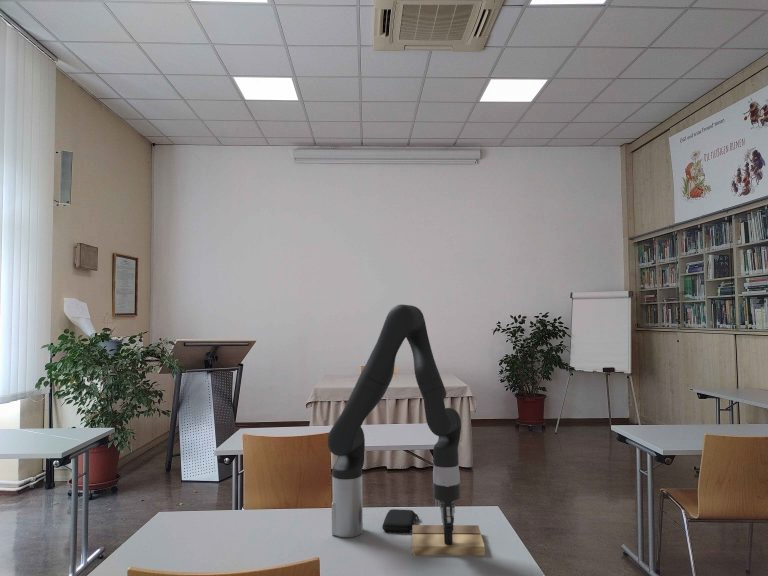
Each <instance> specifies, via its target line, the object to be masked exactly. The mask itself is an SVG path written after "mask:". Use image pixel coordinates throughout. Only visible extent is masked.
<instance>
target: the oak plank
mask: <svg viewBox="0 0 768 576" xmlns="http://www.w3.org/2000/svg"><path fill="white" fill-rule="evenodd" d="M411 535H412V538H411V539H412V543H411V550H412V556H486V552H485V551H486V549H485V543H484V540H483V539H484V538H483V536H482V534H481V535H470V534H452V542H453V543H452V544H451V545H446V544H445V542H444V534H411ZM413 554H415V555H413Z"/></svg>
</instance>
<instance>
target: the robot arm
mask: <svg viewBox="0 0 768 576" xmlns="http://www.w3.org/2000/svg"><path fill="white" fill-rule="evenodd" d="M405 339H407V341H408V344H409V347H410V349H411V352H412V358H413V369H414V375H415V379H416V383H417V386H418V389H419V391H420V394H421V397H422V400H423V407H424V414H425V415H424V416H425V420H426V424H427V426H428V428H429V430H430V432H431V433H433V435H435V436H437V437H438V440H437V442H436V443H435V444H434V446H433V451H432V452H433V453H432V454H433V460H432V461H433V471H432V481H433V482H432V483H433V484H432V485H433V498H434V499H435V500H437V501H439V508H440V515H441V523H442V525H443V530H444V542H445V544H446V545H451V544H452V543H453V542H452V531H453V525H454V523H455V513H456V509H455V507H456V506H455V502H454V501H458V500H459V499H460V498H461V477H460V476H461V474H460V467H459V451H458V449H459V444H460V438H461V432H462V420H461V416H460V414H459V413H458V411H457V410H456V409H455V408H452V407H446V404H445V399H446V397H447V391H446V387H445V385H444V382H443V379H442V378H441V374H440V372H439V369H438V366H437V364H436V360H435V357H434V354H433V351H432V348H431V347H432V346H431V343H430V338H429V335H428V329H427V325H426V320H425V317H424V314H423V312H422V310H421V309H420V308H419V307H417V306H414V305H411V304H397V305H395V306H393V307H392V308H391V309H390V310H389V311H388V313H387V315H386V317H385V320H384V323H383V326H382V328H381V331H380V334H379V336H378V339H377V340H376V343H375V345H374V347H373V349H372V351H371V353H370V355H369V357H368V359H367V362H366V364H365V365H364V366H363V369H362V370H361V373H360V375H359V377H358V379H357V381H356V383H355V386H354V387H353V389H352V392H351V394H350V395H349V398H348V400H347V402H346V404H345V406H344V408H343V410H342V411H341V413H340V414H339V416H338V417H337V419H336V421H335V423H334V424H333V425H332V427H331V429H330V431H329V433H328V436H327V447H328V449H329V451H330V452H331V453H332V454H333V455H334V456H336V457H337V458H336V461H335V463H334V464H333V466H332V469H331V470H332V473H331V474H332V475H331V476H332V502H331V535H332V536H336V537H340V538H352V537H357V536H359V535H361V534H362V533H363V531H364V530H363V529H364V521H363V516H364V514H363V509H364V508H363V506H364V505H363V467H364V465H365V450H366V449H365V446H366V445H365V444H366V443H365V441H366V440H365V439H366V438H365V433H364V430H363V428H362V425H363V423H364V421H365V420H366V418H367V417H368V416H369V415H370V414H371V412H372V411H373V410H374V409H375V408H376V407H377V406H378V404H379V402H380V401H382V399H383V397H384V396H385V394H386V392H387V390H388V389H389V386H390V384H391V382H392V379H393V377H394V376H393V375H394V374H395V373H394V372H395V363H396V358H397V354H398V352H399V350H400V348H401V347H402V344H403V342H404V341H405ZM441 501H442V502H441Z"/></svg>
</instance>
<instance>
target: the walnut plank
mask: <svg viewBox="0 0 768 576" xmlns="http://www.w3.org/2000/svg"><path fill="white" fill-rule="evenodd" d="M411 533H412V534H444V530H443V524H442V525H441V524H438V525H437V524H436V525H435V524H434V525H433V524H432V525H431V524H429V525H427V524H414V525H412V531H411ZM412 534H411V535H412ZM452 534H470V535H481V536H482V534H481V531H480V526H479V525H477V524H476V525H474V524H473V525H472V524H471V525H469V524H465V525H463V524H459V525H458V524H455V525H454V524H453V531H452Z"/></svg>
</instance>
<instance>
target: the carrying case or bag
mask: <svg viewBox="0 0 768 576" xmlns="http://www.w3.org/2000/svg"><path fill="white" fill-rule="evenodd" d="M416 520H417V521H418V520H419V515H418V514H417V513H415V512H414V510H413V509H412V510H411V509H399V508H398V509H394V508H392V509H390V510H389V511H388V512H387V513H386V516H385V518H384V521H383V524H382V527H381V529H382V530H383V532H385V533H388V532H391V533H393V534H409V533H412V525H416V524H415V523H416Z"/></svg>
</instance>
